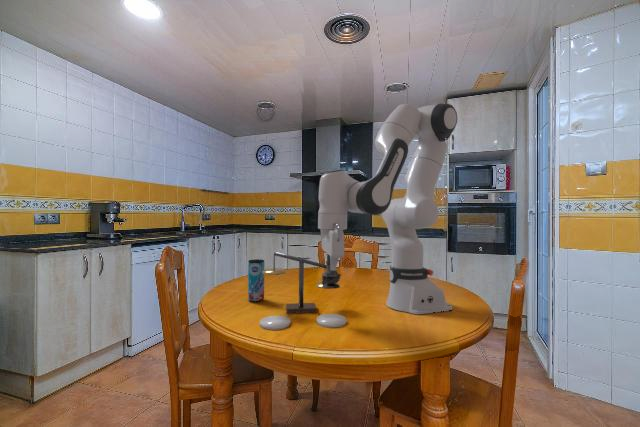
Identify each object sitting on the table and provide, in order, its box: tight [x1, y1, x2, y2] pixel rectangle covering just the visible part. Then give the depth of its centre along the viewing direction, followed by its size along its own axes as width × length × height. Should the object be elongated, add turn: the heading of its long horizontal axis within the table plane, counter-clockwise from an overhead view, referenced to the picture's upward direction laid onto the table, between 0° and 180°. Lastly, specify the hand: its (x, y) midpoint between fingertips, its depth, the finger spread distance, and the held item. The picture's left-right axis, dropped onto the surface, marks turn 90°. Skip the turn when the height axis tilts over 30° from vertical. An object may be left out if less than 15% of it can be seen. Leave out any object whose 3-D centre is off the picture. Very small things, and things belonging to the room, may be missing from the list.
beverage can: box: [247, 259, 265, 303], centre depth 115 cm, size 6×6×15 cm
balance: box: [262, 251, 341, 315], centre depth 104 cm, size 26×8×20 cm, turn 97°
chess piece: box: [321, 253, 342, 290], centre depth 93 cm, size 6×6×12 cm
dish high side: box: [259, 315, 291, 331], centre depth 91 cm, size 9×9×1 cm
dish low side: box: [316, 313, 347, 328], centre depth 94 cm, size 9×9×1 cm
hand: (331, 268), depth 93 cm, fingers closed on chess piece, 3 cm apart
